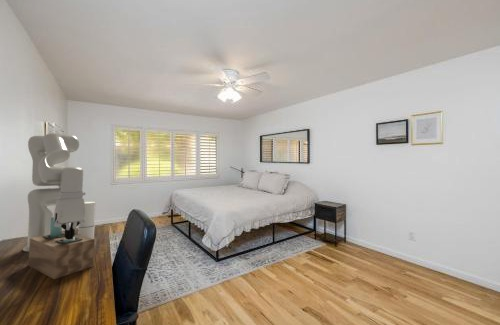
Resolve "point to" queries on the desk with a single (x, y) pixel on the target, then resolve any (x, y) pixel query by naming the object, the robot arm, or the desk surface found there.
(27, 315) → the desk surface
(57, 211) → the robot arm
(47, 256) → the walnut block
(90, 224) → the cylindrical container
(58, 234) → the peg
